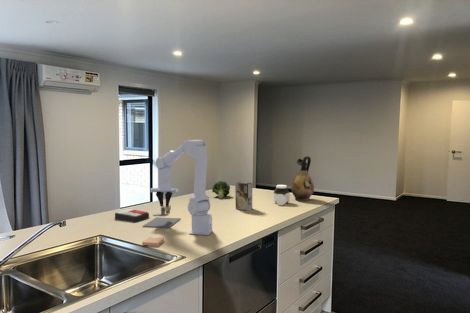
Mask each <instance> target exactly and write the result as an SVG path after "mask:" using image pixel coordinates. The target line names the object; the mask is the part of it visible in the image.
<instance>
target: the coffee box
mask: <svg viewBox="0 0 470 313" xmlns="http://www.w3.org/2000/svg"><path fill="white" fill-rule="evenodd" d="M234 187H235V188H234V190H235V196H234V197H235V210H240V211H241V210H242V211H250V210H252V209H253V182H245V181H244V182H243V181H238V182H235V183H234Z"/></svg>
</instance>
